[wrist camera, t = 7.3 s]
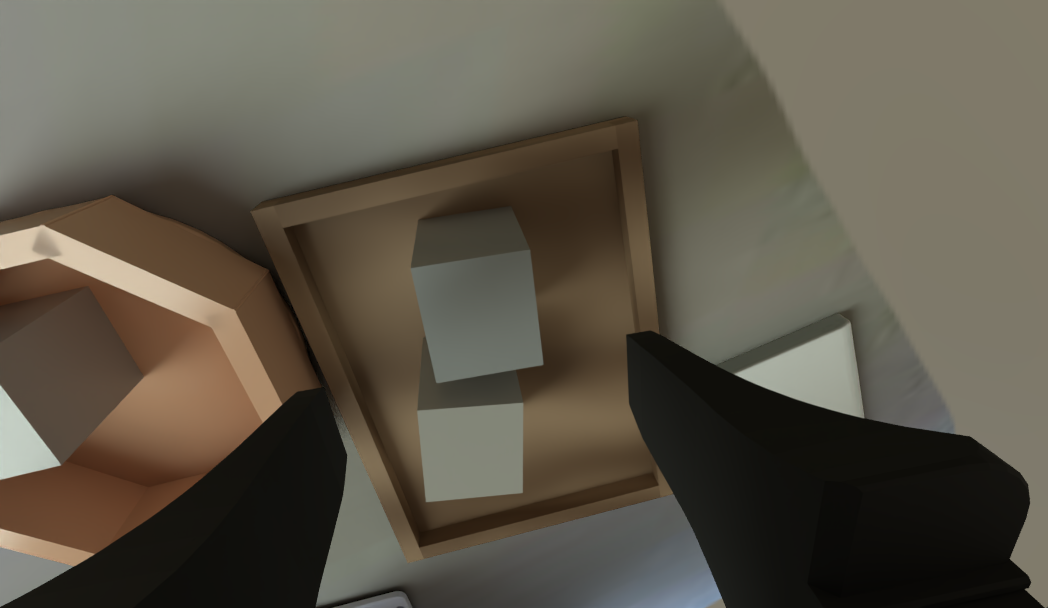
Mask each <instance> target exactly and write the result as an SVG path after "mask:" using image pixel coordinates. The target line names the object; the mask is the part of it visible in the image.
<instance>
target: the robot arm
mask: <svg viewBox="0 0 1048 608" xmlns="http://www.w3.org/2000/svg"><path fill="white" fill-rule="evenodd" d="M626 344H627V369H628V394H629V405H630V408H631V411H632V413H633V416H634V418H635V421H636V424H637V426H638V429H639V431H640V433H641V436H642V438H643V440H644V442H645V444H646V446H647V448H648V449H649V451H650V453H651V455H652V456H653V458H654V460H655V462H656V464H657V465H658V467H659V469H660V471H661V473H662V474H663V476H664V478H665V480H666V481H667V483H668V485H669V487H670V488H671V490H672V492H673V494H674V495H675V497H676V499H677V501H678V502H679V504H680V506H681V508H682V510H683V511H684V513H685V515H686V517H687V519H688V521H689V523H690V525H691V527H692V529H693V531H694V533H695V535H696V538H697V540H698V542H699V545H700V547H701V549H702V551H703V554H704V556H705V558H706V561H707V563H708V565H709V568H710V570H711V572H712V575H713V577H714V579H715V582H716V584H717V587H718V589H719V592H720V594H721V596H722V599H723V601H724V603H725V606H726V608H1044V607H1043V606H1042V605H1041V604H1040V603H1039V602H1038V601H1037V600H1035V599H1034V598H1033V597H1032V596H1031V595H1030V594H1029V593H1028V592H1027V591H1026V590H1025V589H1026V588H1029V586H1030V584H1031V581H1030V579H1029V576H1028V575H1027V574H1026V573H1025V572H1023V571H1022V570H1021V569H1020V568H1019V567H1018V566H1017V565H1016V564H1014V563H1013V562H1012V561H1011V560H1010V556H1011V554H1012V551H1013V549H1014V546H1015V544H1016V542H1017V539H1018V537H1019V534H1020V531H1021V529H1022V527H1023V525H1024V522H1025V520H1026V517H1027V512H1028V509H1029V505H1030V497H1029V489H1028V484H1027V482H1026V481H1025V479H1024V478H1023V476H1022V475H1021V474H1020V472H1018V471H1017V470H1015V469H1014V468H1013V467H1011V466H1010V465H1009V464H1007V463H1006V462H1004V461H1003V460H1002V459H1000V458H999V457H998V456H996V455H995V454H994V453H992V452H991V451H989V450H988V449H987V448H985V447H984V446H983V445H981V444H980V443H978V442H977V441H976V440H974V439H973V438H972V437H970V436H963V435H956V434H950V433H943V432H936V431H929V430H923V429H916V428H909V427H904V426H898V425H893V424H889V423H884V422H879V421H874V420H869V419H865V418H861V417H856V416H852V415H848V414H844V413H840V412H837V411H833V410H830V409H826V408H823V407H819V406H816V405H812V404H809V403H806V402H803V401H800V400H797V399H794V398H791V397H788V396H785V395H783V394H780V393H777V392H775V391H772V390H769V389H767V388H764V387H762V386H759V385H757V384H754V383H752V382H750V381H748V380H745V379H743V378H741V377H739V376H737V375H735V374H732V373H730V372H728V371H726V370H724V369H722V368H720V367H718V366H716V365H714V364H712V363H710V362H708V361H706V360H705V359H703V358H701V357H699V356H697V355H695V354H693V353H692V352H690V351H688V350H686V349H684V348H683V347H681V346H679V345H677V344H676V343H674V342H672V341H670V340H668V339H667V338H665V337H663V336H661V335H659V334H657V333H655V332H653V331H651V330H649V331H644V332H638V333H632V334H626ZM346 463H347V453H346V450H345V447H344V445H343V442H342V439H341V436H340V433H339V430H338V427H337V424H336V421H335V418H334V416H333V413H332V410H331V407H330V404H329V401H328V398H327V395H326V392H325V389H324V387H321V388H315V389H310V390H304V391H298V392H296V393H295V394H294V395H292V396H291V397H290V398H289V399H288V400H287V401H286V402H284V403H283V404H282V405H281V406H280V407H279V408H278V409H277V410H276V411H275V412H274V413H273V414H272V415H271V416H270V417H269V418H268V419H267V420H265V421H264V422H263V423H262V424H261V425H260V426H259V427H258V428H257V429H256V430H255V431H254V432H253V433H252V434H251V435H250V436H249V437H248V438H246V439H245V440H244V441H243V442H242V443H241V444H240V445H239V446H238V447H237V448H236V449H235V450H234V451H232V452H231V453H230V454H229V455H228V456H227V457H226V458H224V459H223V460H222V461H221V462H220V463H219V464H218V465H216V466H215V467H214V468H213V469H212V470H211V471H210V472H208V473H207V474H206V475H205V476H204V477H203V478H202V479H200V480H199V481H198V482H197V483H195V484H194V485H193V486H192V487H190V488H189V489H188V490H187V491H185V492H184V493H183V494H182V495H180V496H179V497H178V498H176V499H175V500H174V501H172V502H171V503H170V504H168V505H167V506H166V507H164V508H163V509H162V510H160V511H159V512H157V513H156V514H155V515H153V516H152V517H150V518H149V519H148V520H146V521H145V522H143V523H142V524H140V525H139V526H137V527H136V528H134V529H133V530H131V531H130V532H128V533H126V534H125V535H123V536H122V537H120V538H119V539H117V540H116V541H114V542H113V543H111V544H110V545H108V546H107V547H105V548H104V549H102V550H101V551H99V552H97V553H96V554H94V555H93V556H91V557H89V558H88V559H86V560H84V561H83V562H81V563H79V564H78V565H76V566H74V567H72V568H71V569H69V570H67V571H66V572H64V573H62V574H60V575H59V576H57V577H55V578H53V579H52V580H50V581H48V582H46V583H44V584H43V585H41V586H39V587H37V588H36V589H34V590H32V591H30V592H28V593H26V594H24V595H23V596H21V597H19V598H17V599H15V600H13V601H11V602H9V603H7V604H5V605H3V606H1V607H0V608H315V607H316V602H317V597H318V592H319V588H320V584H321V580H322V576H323V572H324V568H325V564H326V560H327V556H328V552H329V549H330V545H331V541H332V537H333V533H334V529H335V525H336V521H337V517H338V513H339V509H340V505H341V501H342V497H343V491H344V483H345V474H346ZM333 608H412V606H411V604H410V601H409V599H408V597H407V595H406V594H405V593H404V592H402V591H394V592H391V593H387V594H383V595H379V596H375V597H371V598H368V599H364V600H360V601H356V602H352V603H349V604H345V605H341V606H337V607H333ZM1047 608H1048V607H1047Z"/></svg>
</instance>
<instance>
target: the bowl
mask: <svg viewBox="0 0 1048 608" xmlns="http://www.w3.org/2000/svg"><path fill="white" fill-rule="evenodd" d="M269 271H270V270H268V269H266V268H264V267H262V266H259V265H257V264H255V263H253V262H251V261H249V260H247V259H245V258H244V257H243V256H241V255H240V254H238V253H237V252H236V251H234V250H233V249H231V248H230V247H228V246H227V245H225V244H224V243H222V242H221V241H219V240H217V239H215V238H213V237H211V236H210V235H208V234H206V233H204V232H202V231H201V230H198V229H196V228H193V227H191V226H189V225H186V224H184V223H182V222H179V221H177V220H174V219H171V218H167V217H164V216H161V215H157V214H154V213H151V212H146V211H144V210H142V209H140V208H138V207H136V206H134V205H132V204H130V203H128V202H125V201H123V200H121V199H119V198H117V197H115V195H114V196H113V195H110V196H108V197H105V198H101V199H97V200H93V201H88V202H84V203H80V204H75V205H71V206H67V207H60V208H54V209H48V210H43V211H40V212H37V213H33V214H30V215H27V216H24V217H19V218H15V219H11V220H7V221H2V222H0V306H1V305H5V304H10V303H14V302H19V301H23V300H28V299H32V298H36V297H41V296H45V295H50V294H54V293H59V292H63V291H68V290H72V289H76V288H81V287H85V286H89V288H90V290H91V291H92V293H93V294H94V296H95V298H96V299H97V301H98V303H99V304H100V306H101V307H102V309H103V311H104V312H105V314H106V316H107V317H108V319H109V320H110V322H111V324H112V325H113V327H114V329H115V330H116V332H117V333H118V335H119V337H120V338H121V340H122V342H123V343H124V345H125V346H126V348H127V350H128V351H129V353H130V355H131V356H132V358H133V360H134V361H135V363H136V364H137V366H138V368H139V369H140V371H141V373H142V374H143V376H144V378H143V379H142V380H141V381H140V382H139V383H138V384H137V385H136V386H135V387H134V388H133V389H132V391H131V392H130V393H129V394H128V395H127V396H126V397H125V398H124V399H123V400H122V401H121V402H120V403H119V404H118V405H117V407H116V408H115V409H114V410H113V411H112V412H111V413H110V414H109V415H108V416H107V417H106V418H105V419H104V420H103V421H102V423H101V424H100V425H99V426H98V427H97V428H96V429H95V430H94V431H93V432H92V433H91V434H90V435H89V436H88V438H87V439H86V440H85V441H84V442H83V443H82V444H81V445H80V446H79V447H78V448H77V449H76V450H75V451H74V452H73V454H72V455H71V456H70V457H69V458H68V459H67V460H66V461H65V462H64V463H63V464H62V465H60V466H56V467H52V468H48V469H43V470H39V471H35V472H31V473H27V474H22V475H18V476H14V477H10V478H5V479H1V480H0V547H2V548H6V549H10V550H14V551H18V552H21V553H25V554H29V555H33V556H37V557H41V558H45V559H49V560H53V561H56V562H60V563H64V564H68V565H72V566H76V565H78V564H79V563H81V562H83V561H84V560H86V559H88V558H89V557H91V556H93V555H94V554H96V553H97V552H99V551H101V550H102V549H104V548H105V547H107V546H108V545H110V544H111V543H113V542H114V541H116V540H117V539H119V538H120V537H122V536H123V535H125V534H126V533H128V532H130V531H131V530H133V529H134V528H136V527H137V526H139V525H140V524H142V523H143V522H145V521H146V520H148V519H149V518H150V517H152V516H153V515H155V514H156V513H157V512H159V511H160V510H162V509H163V508H164V507H166V506H167V505H168V504H170V503H171V502H172V501H174V500H175V499H176V498H178V497H179V496H180V495H182V494H183V493H184V492H185V491H187V490H188V489H189V488H190V487H192V486H193V485H194V484H195V483H197V482H198V481H199V480H200V479H202V478H203V477H204V476H205V475H206V474H207V473H208V472H210V471H211V470H212V469H213V468H214V467H215V466H216V465H218V464H219V463H220V462H221V461H222V460H223V459H224V458H226V457H227V456H228V455H229V454H230V453H231V452H232V451H234V450H235V449H236V448H237V447H238V446H239V445H240V444H241V443H242V442H243V441H244V440H245V439H246V438H248V437H249V436H250V435H251V434H252V433H253V432H254V431H255V430H256V429H257V428H258V427H259V426H260V425H261V424H262V423H263V422H264V421H265V420H267V419H268V418H269V417H270V416H271V415H272V414H273V413H274V412H275V411H276V410H277V409H278V408H279V407H280V406H281V405H282V404H283V403H284V402H286V401H287V400H288V399H289V398H290V397H291V396H292V395H294V394H295V393H296V392H298V391H304V390H310V389H315V388H321V385H322V384H320V382H319V380H318V378H317V375H316V373H315V371H314V369H313V367H312V364H311V362H310V360H309V355H308V351H307V346H306V342H305V339H304V336H303V334H302V331H301V328H300V326H299V323H298V322H297V320H296V318H295V316H294V314H293V312H292V310H291V309H290V307H289V305H288V304H287V303H286V301H285V300H284V298H283V297H282V296H281V294H280V293H279V291H278V290H277V288H276V285H275V283H274V281H273V279H272V277H271V274H270V272H269Z"/></svg>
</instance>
